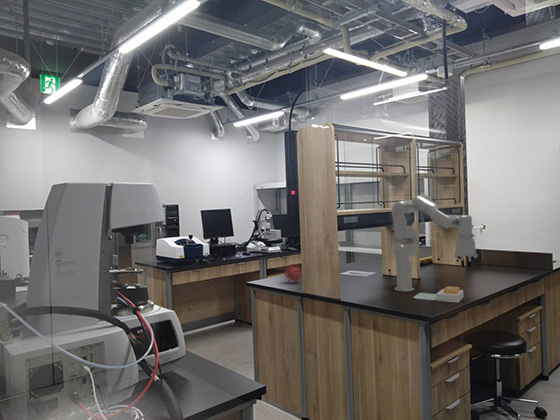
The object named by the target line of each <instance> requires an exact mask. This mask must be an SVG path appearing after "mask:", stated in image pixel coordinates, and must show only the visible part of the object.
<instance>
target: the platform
mask: <svg viewBox="0 0 560 420" xmlns="http://www.w3.org/2000/svg"><path fill="white" fill-rule="evenodd" d="M444 289H445V288H442V289H441V290H439V291H438V292H437V293H435V294H436V300H435V301H439V302H447V303H460V301H461V300H463V298H464V296H465V295H464V290H462V289H460V291H459V292H458V293H457V294H445V293H444Z"/></svg>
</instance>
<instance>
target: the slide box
mask: <svg viewBox="0 0 560 420" xmlns="http://www.w3.org/2000/svg"><path fill="white" fill-rule="evenodd" d="M443 289H444V293H445V294H457V293H458V292H459V291H460V290H461V289H460V286H450V285H449V286H448V285H447V286H446V287H445V288H443Z"/></svg>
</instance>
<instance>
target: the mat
mask: <svg viewBox="0 0 560 420" xmlns="http://www.w3.org/2000/svg"><path fill="white" fill-rule="evenodd" d="M436 294H437V293H426V292H419V293H417V294H416V295H414V296H413V297H412V299H413V298H415V299H416V300H424V301H425V300H427V301H437V300H436ZM415 299H414V300H415Z"/></svg>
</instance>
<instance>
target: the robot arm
mask: <svg viewBox="0 0 560 420" xmlns="http://www.w3.org/2000/svg"><path fill="white" fill-rule="evenodd" d="M439 208H440V206H439V205H438V203H435V201H433V198H432V197H431V196H430V195H427V194H420V195H419V194H418V195H416V196H413V197H412V199H409V200H408V199H404V200H398V201H396V202H395V203H394V204H393V205H392V208H391V216H392V220H393V231H394V237H395V239H396V240H397V241H405V242H398V243H397V244H396V245H394V249H393V250H394V251H393V252H394V255H395V256H394V257H395V265H396V266H395V267H396V268H395V269H396V286H395V287H394V290H395V291H397V292H413V291H415V288H414V287H413V286H412V285H413V282H412V280H413V279H412V261H411V259H410V257H411V256H415V255H417V253H418V251H419V243H418V233H417V231H416V229H415V228H414V227H413V226H411V225H408V224H407V222H408V221H407V217H406V216H405V214H410V213H417V212H420V211H421V212H423V213H424V214H425V215H427V216H429V217H430V219H431V220H432V221H433V222H434V223H435V224H437V225H439V226H440V227H442V228H445V229H451V228H452V229H453V228H457V236H458V237H457V239H456V244H455V245H456V247H455V252H454V257H455V258H457V259H458V260H459V261H460V265H461V268H463V269H464V268H465V260H464V257H468V261H467V268H468V269H471V267H472V261H473V260H474V259H477V258H478V257H479V256H478V253H477V249H476V242H475V238H474V237H476V234H474V233H473V220H472V216H471V215H470V214H469V215H468V214H464V215H463V214H460V215H459V214H445V213H444V212H441V211H440V210H439Z"/></svg>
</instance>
